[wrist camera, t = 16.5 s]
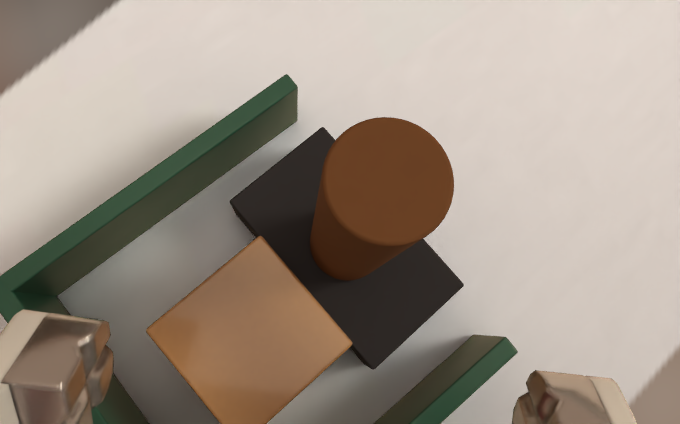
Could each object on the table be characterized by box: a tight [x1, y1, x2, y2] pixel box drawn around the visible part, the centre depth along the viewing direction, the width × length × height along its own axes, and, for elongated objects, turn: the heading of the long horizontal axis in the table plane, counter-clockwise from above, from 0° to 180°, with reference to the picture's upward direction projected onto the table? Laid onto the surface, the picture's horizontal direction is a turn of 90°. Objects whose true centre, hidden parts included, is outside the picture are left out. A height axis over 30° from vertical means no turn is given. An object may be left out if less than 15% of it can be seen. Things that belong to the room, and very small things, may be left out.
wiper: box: [230, 117, 463, 369], centre depth 15 cm, size 4×7×10 cm, turn 41°
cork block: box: [146, 236, 352, 424], centre depth 17 cm, size 4×4×4 cm
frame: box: [0, 74, 517, 424], centre depth 17 cm, size 11×11×3 cm
